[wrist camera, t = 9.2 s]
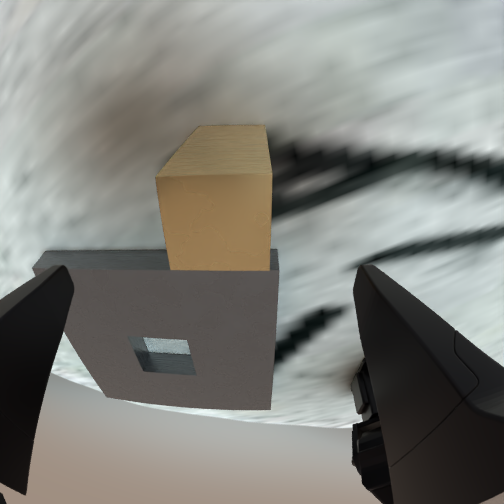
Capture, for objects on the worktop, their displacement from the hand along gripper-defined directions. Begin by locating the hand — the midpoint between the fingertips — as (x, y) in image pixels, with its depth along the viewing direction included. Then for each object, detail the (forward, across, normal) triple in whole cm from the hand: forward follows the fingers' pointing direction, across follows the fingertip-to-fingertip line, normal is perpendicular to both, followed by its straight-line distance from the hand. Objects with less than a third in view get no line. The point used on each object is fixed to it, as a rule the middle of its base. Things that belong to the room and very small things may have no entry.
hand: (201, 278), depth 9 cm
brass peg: (+12, 0, 0) cm, 12 cm away
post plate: (+12, +7, +17) cm, 22 cm away
